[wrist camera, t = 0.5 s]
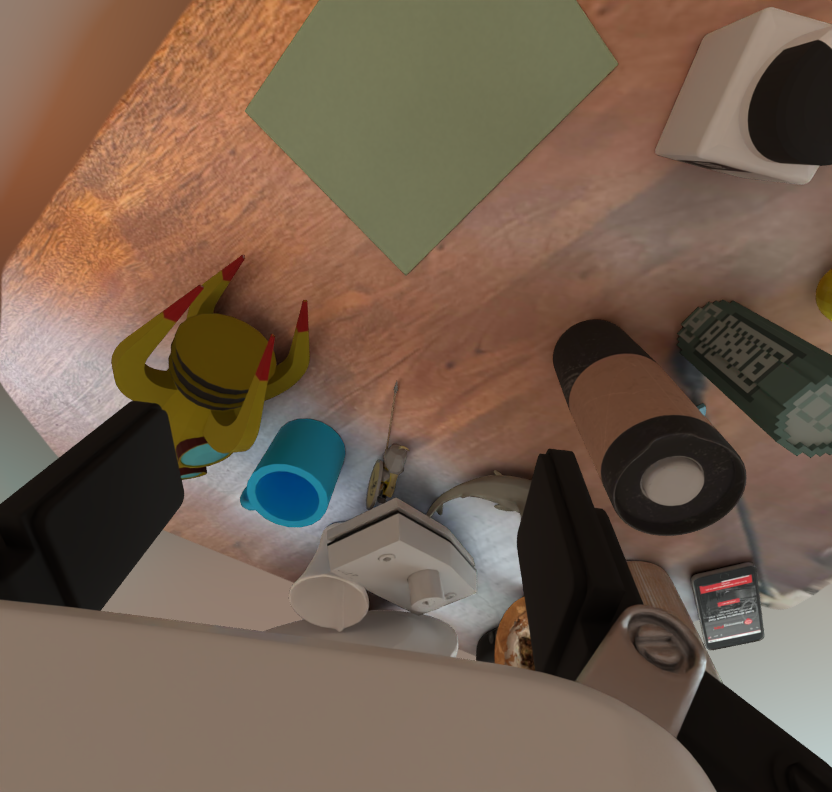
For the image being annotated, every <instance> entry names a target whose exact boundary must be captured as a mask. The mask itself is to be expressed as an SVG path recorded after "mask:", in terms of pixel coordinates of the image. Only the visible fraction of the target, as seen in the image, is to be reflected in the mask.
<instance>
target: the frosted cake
mask: <svg viewBox="0 0 832 792" xmlns="http://www.w3.org/2000/svg"><path fill="white" fill-rule="evenodd" d="M495 664H501V665H507V666H512V667H517V668H522V669H527V670H532V671H535V666H534V659H533V652H532V645H531V638H530V632H529V625H528V618H527V611H526V604H525V598H524V597H522V598H520V599H518V600H517V601H516V602H514V603H513V604H512V605H511V606H510V607H509V608H508V610H507V611H506V612H505V614H504V616H503V618H502V619H501V622H500V624H499V627H498V631H497V635H496V641H495Z"/></svg>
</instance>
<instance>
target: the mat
mask: <svg viewBox="0 0 832 792" xmlns="http://www.w3.org/2000/svg"><path fill="white" fill-rule="evenodd" d="M617 65H618V63H617V61H616V60H615V58H614V57H613V55H612V54H611V52H610V51H609V49H608V48H607V46H606V45H605V43H604V42H603V40H602V39H601V37H600V36H599V34H598V33H597V31H596V30H595V28H594V27H593V25H592V24H591V22H590V21H589V19H588V18H587V16H586V15H585V13H584V12H583V10H582V9H581V7H580V6H579V4H578V3H577V1H576V0H319V1H318V3H317V4H316V6H315V7H314V9H313V10H312V12H311V13H310V15H309V16H308V18H307V19H306V21H305V22H304V24H303V25H302V27H301V28H300V30H299V31H298V33H297V34H296V35H295V37H294V38H293V40H292V41H291V43H290V44H289V46H288V47H287V49H286V50H285V52H284V53H283V55H282V56H281V58H280V59H279V61H278V62H277V64H276V65H275V67H274V68H273V70H272V71H271V73H270V74H269V76H268V77H267V79H266V80H265V81H264V83H263V84H262V86H261V87H260V89H259V90H258V92H257V93H256V95H255V96H254V98H253V99H252V101H251V102H250V104H249V105H248V107H247V108H246V110H245V112H246V113H247V114H248V115H249V116H250V117H251V118H252V119H253V120H254V121H255V122H256V123H257V124H258V125H259V126H260V127H261V128H262V129H263V130H264V131H265V132H266V133H267V135H268V136H269V137H270V138H271V139H272V140H273V141H274V142H275V143H276V144H277V145H278V146H279V147H280V148H281V149H282V150H283V151H284V152H285V153H286V154H287V155H288V156H289V157H290V158H291V159H292V160H293V161H294V162H295V163H296V164H297V165H298V166H299V167H300V168H301V169H302V170H303V171H304V172H305V173H306V174H307V175H308V176H309V177H310V178H311V179H312V180H313V181H314V182H315V183H316V184H317V185H318V187H319V188H320V189H321V190H322V191H323V192H324V193H325V194H326V195H327V196H328V197H329V198H330V199H331V200H332V201H333V202H334V203H335V204H336V205H337V206H338V207H339V208H340V209H341V210H342V211H343V212H344V213H345V214H346V215H347V216H348V217H349V218H350V219H351V220H352V221H353V222H354V223H355V224H356V225H357V226H358V227H359V228H360V229H361V230H362V231H363V232H364V233H365V234H366V235H367V236H368V238H369V239H370V240H371V241H372V242H373V243H374V244H375V245H376V246H377V247H378V248H379V249H380V250H381V251H382V252H383V253H384V254H385V255H386V256H387V257H388V258H389V259H390V260H391V261H392V262H393V263H394V264H395V265H396V266H397V267H398V268H399V269H400V270H401V271H402V272H403V273H404V274H405V275H407V274H408V273H409V272H410V271H411V270H412V269H413V268H414V267H415V266H416V265H417V264H418V263H419V262H420V261H421V260H422V259H423V258H424V257H425V256H426V255H427V254H428V253H429V252H430V251H431V250H432V249H433V248H434V247H435V246H436V245H437V244H438V243H439V242H440V241H441V240H442V239H443V238H444V237H445V236H446V235H447V234H448V233H449V232H450V231H451V230H452V229H453V228H454V227H455V226H456V225H457V224H458V223H459V222H460V221H461V220H462V219H463V218H464V217H465V216H466V215H467V214H468V213H469V212H470V211H471V210H472V209H473V208H474V207H475V206H476V205H477V204H478V203H479V202H480V201H481V200H482V199H483V198H484V197H485V196H486V195H487V194H488V193H489V192H490V191H491V190H492V189H493V188H494V187H495V186H496V185H497V184H498V183H499V182H500V181H501V180H502V179H503V178H504V177H505V176H506V175H508V174H509V173H510V172H511V171H512V170H513V169H514V168H515V167H516V166H517V165H518V164H519V163H520V162H521V161H522V160H523V159H524V158H525V157H526V156H527V155H528V154H529V153H530V152H531V151H532V150H533V149H534V148H535V147H536V146H537V145H538V144H539V143H540V142H541V141H542V140H543V139H544V138H545V137H546V136H547V135H548V134H549V133H550V132H551V131H552V130H553V129H554V128H555V127H556V126H557V125H558V124H559V123H560V122H561V121H562V120H563V119H564V118H565V117H566V116H567V115H568V114H569V113H570V112H571V111H572V110H573V109H574V108H575V107H576V106H577V105H578V104H579V103H580V102H581V101H582V100H583V99H584V98H585V97H586V96H587V95H588V94H589V93H590V92H591V91H592V90H593V89H594V88H595V87H596V86H597V85H598V84H599V83H600V82H601V81H602V80H603V79H604V78H605V77H606V76H607V75H608V74H609V73H610V72H611V71H612V70H613V69H614V68H615V67H616V66H617Z"/></svg>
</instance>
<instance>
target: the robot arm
mask: <svg viewBox="0 0 832 792" xmlns="http://www.w3.org/2000/svg"><path fill="white" fill-rule="evenodd" d="M183 499H184V489H183V484H182V479H181V474H180V470H179V465H178V460H177V456H176V451H175V446H174V441H173V437H172V432H171V427H170V423H169V418H168V414H167V412H166V411H165V410H162V408H161V406H160V405H159V404H157V403H149V402H141V401H131V402H130V403H128V404H127V405H126V406H124V407H123V408H122V409H120V410H119V411H118V412H117V413H115V414H114V415H113V416H112V417H110V418H109V419H108V420H106V421H105V422H104V423H103V424H101V425H100V426H99V427H98V428H96V429H95V430H94V431H93V432H91V433H90V434H89V435H87V436H86V437H85V438H84V439H82V440H81V441H80V442H79V443H77V444H76V445H75V446H73V447H72V448H71V449H70V450H68V451H67V452H66V453H65V454H63V455H62V456H61V457H59V458H58V459H57V460H56V461H54V462H53V463H52V464H51V465H49V466H48V467H47V468H46V469H44V470H43V471H42V472H40V473H39V474H38V475H37V476H35V477H34V478H33V479H32V480H30V481H29V482H28V483H26V484H25V485H24V486H23V487H21V488H20V489H19V490H18V491H16V492H15V493H14V494H12V495H11V496H10V497H9V498H7V499H6V500H5V501H4V502H2V503H1V504H0V792H832V767H830V766H829V765H828V764H827V763H826V762H825V761H823V760H822V759H821V758H819V757H818V756H817V755H816V754H814V753H813V752H811V751H810V750H809V749H808V748H806V747H805V746H804V745H802V744H801V743H800V742H799V741H797V740H796V739H795V738H793V737H792V736H791V735H789V734H788V733H787V732H785V731H784V730H783V729H782V728H780V727H779V726H778V725H776V724H775V723H774V722H772V721H771V720H770V719H768V718H767V717H766V716H765V715H763V714H762V713H761V712H759V711H758V710H757V709H755V708H754V707H753V706H751V705H750V704H749V703H747V702H746V701H745V700H744V699H742V698H741V697H740V696H738V695H737V694H736V693H734V692H733V691H732V690H731V689H729V688H728V687H727V686H725V685H724V684H723V683H721V682H720V681H719V680H717V679H716V678H715V677H714V676H712V675H711V674H710V673H708V672H707V671H706V670H705V666H706V657H705V653H704V649H703V647H702V645H701V644H700V642H699V640H698V638H697V637H696V635H695V634H694V633H693V632H692V631H691V630H690V629H689V628H688V626H687V625H686V624H684V623H683V622H682V621H680V620H679V619H678V618H677V617H675V616H674V615H672V614H670V613H668V612H666V611H664V610H663V609H660V608H657V607H653V606H650V605H644V604H643V601H642V599H641V596H640V594H639V591H638V589H637V586H636V584H635V581H634V579H633V576H632V574H631V571H630V569H629V567H628V564H627V562H626V559H625V557H624V554H623V552H622V549H621V547H620V544H619V542H618V539H617V537H616V534H615V532H614V529H613V527H612V524H611V522H610V520H609V517H608V515H607V513H606V511H604V510H603V509H600V508H594V505H593V503H592V500H591V497H590V495H589V492H588V489H587V487H586V484H585V481H584V479H583V476H582V473H581V471H580V468H579V465H578V463H577V460H576V457H575V455H574V453H573V452H572V451H565V450H556V449H548V451H547V452H546V454H539V456H538V459H537V462H536V466H535V470H534V474H533V477H532V481H531V485H530V489H529V492H528V496H527V500H526V504H525V507H524V511H523V515H522V519H521V522H520V526H519V530H518V535H517V550H518V557H519V564H520V570H521V577H522V584H523V591H524V598H525V604H526V611H527V618H528V625H529V632H530V638H531V645H532V652H533V659H534V666H535V671H532V670H527V669H522V668H517V667H512V666H507V665H501V664H494V663H488V662H481V661H475V660H468V659H462V658H455V657H449V656H442V655H435V654H429V653H421V652H414V651H406V650H399V649H392V648H384V647H377V646H369V645H362V644H355V643H347V642H340V641H332V640H325V639H317V638H310V637H302V636H294V635H287V634H279V633H271V632H264V631H256V630H248V629H240V628H233V627H225V626H217V625H209V624H201V623H194V622H185V621H178V620H169V619H162V618H154V617H145V616H137V615H130V614H121V613H113V612H105V611H101V609H102V608H103V607H104V606H105V604H106V603H107V602H108V600H109V599H110V598H111V596H112V595H113V594H114V593H115V591H116V590H117V588H118V587H119V586H120V585H121V583H122V582H123V581H124V579H125V578H126V577H127V576H128V574H129V573H130V572H131V570H132V569H133V568H134V566H135V565H136V564H137V562H138V561H139V560H140V559H141V557H142V556H143V554H144V553H145V552H146V551H147V549H148V548H149V547H150V545H151V544H152V543H153V541H154V540H155V539H156V538H157V536H158V535H159V534H160V532H161V531H162V530H163V528H164V527H165V526H166V525H167V523H168V522H169V521H170V519H171V518H172V517H173V515H174V514H175V513H176V511H177V510H178V509H179V508H180V506H181V504H182V502H183Z"/></svg>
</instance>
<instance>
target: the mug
mask: <svg viewBox="0 0 832 792" xmlns="http://www.w3.org/2000/svg"><path fill="white" fill-rule="evenodd" d="M345 454H346V453H345V447H344V443H343V441H342V439H341V438H340V436H339V435H338V434H337V433H336V432H335V431H334V430H333V429H332V428H331V427H329V426H328V425H326V424H324V423H322V422H320V421H316V420H312V419H297V420H294V421H290V422H288V423H287V424H285V425H284V426H283V427H281V429H280V430H279V432H278V433H277V435H276V437H275V438H274V440H273V442H272V443H271V445H270V446H269V448H268V450H267V451H266V453H265V454H264V456H263V458H262V459H261V461H260V463H259V464H258V466H257V467H256V469H255V471H254V472H253V474H252V476H251V477H250V479H249V480H248V483H247V487H246V488H245V489H244V491H243V492H242V495H241V497H240V502H241V505H242V507H244V508H246V509H248V510H256V511H257V512H258V513H259V514H260V515H262V516H263V517H264V518H265V519H267V520H269V521H271V522H273V523H275V524H278V525H282V526H286V527H304V526H308V525H312V524H313V523H315V522H317V521H318V520H320V519H321V518H322V516H323V515H324V514H325V512H326V510H327V508H328V505H329V502H330V499H331V496H332V493H333V491H334V488H335V485H336V482H337V479H338V476H339V474H340V471H341V468H342V465H343V462H344V458H345Z"/></svg>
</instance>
